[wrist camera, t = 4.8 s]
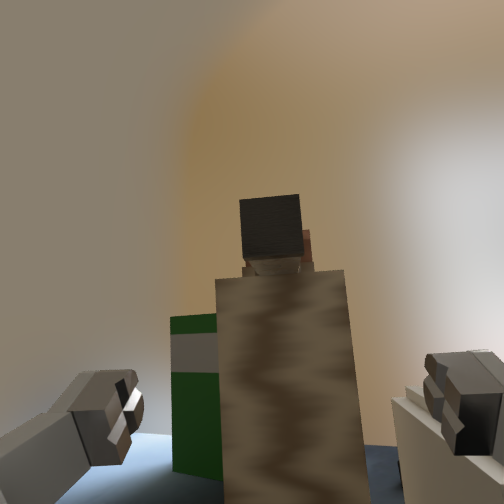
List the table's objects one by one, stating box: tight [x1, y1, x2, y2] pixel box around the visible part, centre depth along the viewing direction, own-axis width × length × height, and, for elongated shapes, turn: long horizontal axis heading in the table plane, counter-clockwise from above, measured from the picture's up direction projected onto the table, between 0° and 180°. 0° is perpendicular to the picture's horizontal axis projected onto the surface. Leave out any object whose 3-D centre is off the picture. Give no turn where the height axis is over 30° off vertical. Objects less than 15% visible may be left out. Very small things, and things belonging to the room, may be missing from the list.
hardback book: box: [170, 313, 224, 481], centre depth 55 cm, size 18×7×24 cm, turn 62°
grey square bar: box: [239, 194, 305, 276], centre depth 29 cm, size 3×24×3 cm, turn 174°
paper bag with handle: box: [215, 230, 371, 504], centre depth 32 cm, size 10×16×31 cm, turn 174°
